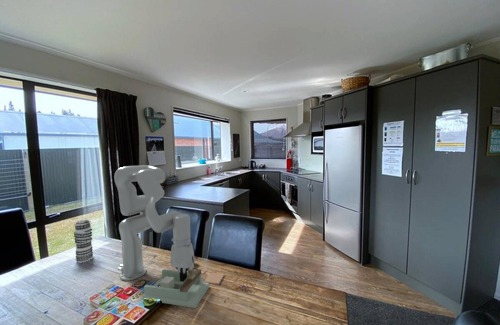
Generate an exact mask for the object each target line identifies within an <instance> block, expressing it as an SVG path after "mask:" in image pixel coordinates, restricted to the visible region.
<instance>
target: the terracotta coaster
mask: <svg viewBox="0 0 500 325" xmlns="http://www.w3.org/2000/svg"><path fill="white" fill-rule="evenodd" d="M224 277H225V274H224V273H215V272H210V273H209V274H208V275H207V276H206V278H205V280H203V282H205V283H209V284H214V285H216V286H217V285H218V286H219V285H220V284H221V282H222V280H223V278H224Z"/></svg>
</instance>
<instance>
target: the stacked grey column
mask: <svg viewBox="0 0 500 325" xmlns="http://www.w3.org/2000/svg"><path fill="white" fill-rule="evenodd" d="M91 223H92V222H91V221H90V220H89V219H81V220H78V221H76V223H74V228H75V229H74V232H73V237H74V243H75V246H76V247H75V260H76V261H75V262H76V263H77V262H78V263H77V264H83V263H87V262H89V261H91V260H92V259H94V251H93V244H92V240H93V237H92V236H93V232H92V231H93V228H92V226H91ZM90 259H91V260H90ZM88 260H89V261H88ZM86 261H87V262H86ZM82 262H83V263H82Z"/></svg>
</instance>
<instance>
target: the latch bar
mask: <svg viewBox="0 0 500 325" xmlns="http://www.w3.org/2000/svg"><path fill="white" fill-rule="evenodd" d="M200 274H201V275H202V269H201V268H195V269H190V270H188V271H187V279H186V281H185V282H184V283H183V284H182V285H181V287H180V292H187V291H188V290H189V289H190V287H191V286H192V285H193V283H194V282H195V281H196V279H197V278H198V277H199V276H200Z"/></svg>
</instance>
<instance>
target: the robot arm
mask: <svg viewBox="0 0 500 325" xmlns="http://www.w3.org/2000/svg"><path fill="white" fill-rule="evenodd" d="M113 178H114V183H115V186H116V188H117V192H118V199H119V208H120V213H121V214H122V216H127V217H128V216H130V217H128V218H125V219H123V220H121V222H119V224H118V231H119V235H120V239H121V253H122V254H121V255H122V263H121V264H120V265H119V266H118V268H117V270H118V271H121V273H120V275H119V278H120V280H122V281H124V282H125V281H127V282H128V281H134V280H136V279H137V280H138V279H139V278H141V277H142V276H144V275H145V274H146V272H147V267H145V266H143V265H144V264H143V263H144V261H143V242H142V239H141V238H140V237H139V234H140V233H142V232H145V231H147V230H149V229H151V230H153V231H154V232H155V233H157V234H158V233H159V234H161V233H163V232H164V233H165V232H166V231H168V230H171V229H172V232H173V233H172V234H173V236H172V237H173V238H172V237H171V242H173V244H172V245H171V249H170V257H169V258H170V259H169V260H170V262H169V263H170V267H172V268H175V269H176V271H178V272H179V276H180V281H182V282H184V281H185V279H186V278H187V272H188V271H189V270H194V268H195V265H194V263H195V251H194V247H193V243H192V242H191V241H192V240H191V217H190V215H189V214H187V213H181V212H179V211H176V210H174V211H172V210H171V211H170V212H166V213H162V214H160V215H159V214H158V211H157V208H156V203H157V202H159V200H161V199H163V197H164V196H165V190H164V189H163V187H162V185H161V184H163V183H164V182H165V181H166V173H165V171H164V170H163V169H162V168H160V167H157V166H156V167H155V166H152V165H147V164H143V165H128V166H127V165H126V166H123V167H119V168H118V169H116V171H115V173H114V176H113ZM133 182H137V184H138V185H139V188H140V189H141V191H142V192H143V194H142V195H138V194H137V188H136V186H135V184H133ZM136 214H138V215H136ZM132 215H134V216H132Z"/></svg>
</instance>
